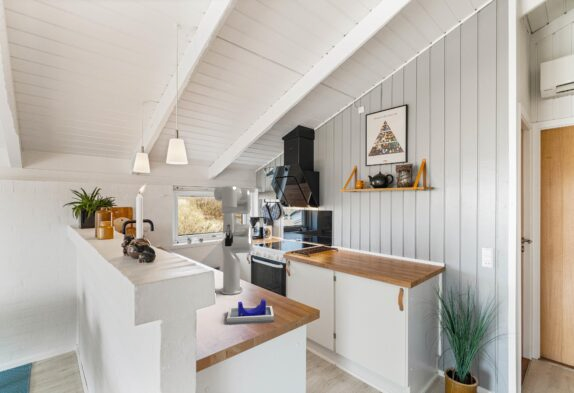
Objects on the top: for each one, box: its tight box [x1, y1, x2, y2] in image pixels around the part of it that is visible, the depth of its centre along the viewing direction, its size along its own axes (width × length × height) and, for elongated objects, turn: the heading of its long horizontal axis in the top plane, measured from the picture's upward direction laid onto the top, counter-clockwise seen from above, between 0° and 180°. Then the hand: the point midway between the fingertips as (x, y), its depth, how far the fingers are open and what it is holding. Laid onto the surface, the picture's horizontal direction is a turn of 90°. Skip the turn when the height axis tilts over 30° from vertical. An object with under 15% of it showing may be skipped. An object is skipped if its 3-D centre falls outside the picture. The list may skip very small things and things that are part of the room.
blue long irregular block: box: [237, 298, 267, 317], centre depth 127 cm, size 12×4×6 cm, turn 108°
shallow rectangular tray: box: [226, 305, 275, 325], centre depth 127 cm, size 14×20×2 cm
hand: (229, 244), depth 141 cm, fingers open, 9 cm apart
